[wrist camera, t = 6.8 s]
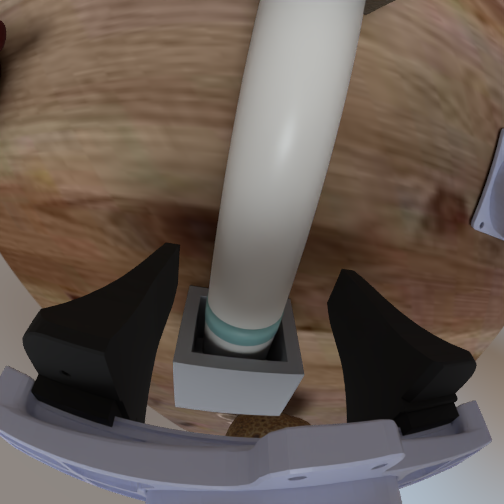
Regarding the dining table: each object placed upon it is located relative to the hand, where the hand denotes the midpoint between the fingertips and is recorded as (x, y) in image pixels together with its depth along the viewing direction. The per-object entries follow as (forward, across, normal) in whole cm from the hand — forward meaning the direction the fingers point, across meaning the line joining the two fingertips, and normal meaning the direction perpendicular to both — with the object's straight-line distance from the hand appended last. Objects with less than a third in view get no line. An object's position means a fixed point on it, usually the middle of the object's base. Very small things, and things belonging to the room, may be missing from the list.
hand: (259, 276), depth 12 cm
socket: (+4, 0, +7) cm, 8 cm away
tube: (+3, 0, -5) cm, 6 cm away
